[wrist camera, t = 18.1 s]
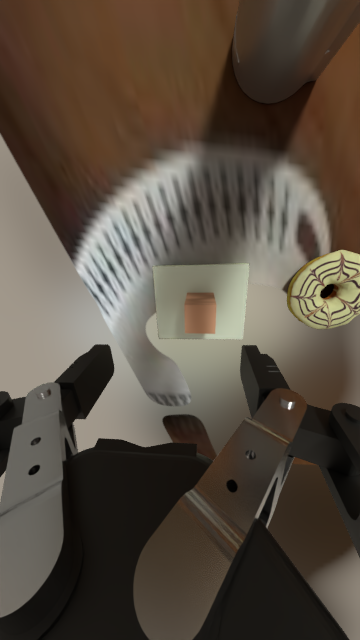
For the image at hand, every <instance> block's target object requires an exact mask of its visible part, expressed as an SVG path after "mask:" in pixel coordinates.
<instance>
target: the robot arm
mask: <svg viewBox="0 0 360 640" xmlns="http://www.w3.org/2000/svg"><path fill="white" fill-rule="evenodd" d="M359 22H360V0H240V1H239V7H238V12H237V16H236V23H235V29H234V37H233V46H232V64H233V69H234V73H235V76H236V79H237V81H238V84H239V86H240V87H241V89H242V90H243V91H244V93H245V94H246V95H248V96H249V97H250V98H251V99H253V100H255V101H257V102H260V103H266V104H269V103H277V102H279V101H282V100H285V99H286V98H288V97H290V96H291V95H293V94H294V93H295V92H296V91H297V90H298V89H300V88H301V87H302V86H303V85H304V84H305V83H306V82H309V81H315V80H317V79H318V77H319V76H320V75H321V73H322V72H323V71H324V69H325V68H326V67H327V65H328V64H329V63H330V61H331V60H332V59H333V57H334V56H335V55H336V53H337V52H338V50H339V49H340V48H341V46H342V45H343V44H344V42H345V41H346V40H347V38H348V37H349V36H350V34H351V33H352V32H353V30H354V29H355V28H356V26H357V25H358V24H359ZM113 373H114V363H113V359H112V354H111V349H110V346H109V345H94V346H93V347H92V349H90V351H89V352H87V353H85V354H83V355H82V356H80V357H79V358H78V359H77V360H76V361H75V362H74V364H72V365H71V366H70V367H69V368H68V369H67V370H66V371H65V372H64V373H63V374H62V375H61V376H60V377H59V378H58V379H57V380H56V381H55V382H53V383H46V384H42V385H40V386H38V387H36V388H34V389H33V390H32V391H30V392H29V393H28V394H27V396H26V397H22V398H17V399H11V397H10V395H9V394H8V392H5V391H1V392H0V477H1V475H2V474H3V473H4V472H5V471H6V474H5V480H4V486H3V491H2V496H1V502H0V640H349V639H348V637H347V635H346V634H345V633H344V631H343V630H342V628H341V627H340V626H339V624H338V623H337V622H336V620H335V619H334V618H333V616H332V615H331V614H330V612H329V611H328V610H327V608H326V607H325V605H324V604H323V603H322V602H321V600H320V599H319V597H318V596H317V595H316V593H315V592H314V591H313V589H312V588H311V587H310V585H309V584H308V583H307V581H306V580H305V579H304V577H303V576H302V575H301V573H300V572H299V571H298V569H297V568H296V567H295V565H294V564H293V563H292V561H291V560H290V559H289V557H288V556H287V555H286V553H285V552H284V551H283V549H282V548H281V546H280V545H279V544H278V543H277V541H276V540H275V539H274V537H273V536H272V534H271V533H270V532H269V531H268V529H267V528H268V525H269V522H270V520H271V518H272V515H273V512H274V509H275V506H276V503H277V500H278V497H279V494H280V491H281V489H282V486H283V484H284V482H285V479H286V477H287V474H288V471H289V469H290V467H291V464H292V462H293V459H294V457H297V458H300V459H303V460H306V461H308V462H311V463H314V464H317V465H319V467H320V469H321V471H322V474H323V476H324V478H325V480H326V483H327V485H328V487H329V490H330V492H331V494H332V496H333V498H334V501H335V503H336V505H337V508H338V510H339V512H340V514H341V517H342V519H343V521H344V523H345V526H346V528H347V530H348V532H349V534H350V537H351V539H352V541H353V544H354V546H355V548H356V550H357V553H358V555H359V557H360V407H358V406H355V405H352V404H347V403H338V404H335V405H334V406H333V407H332V410H331V411H329V410H325V409H321V408H317V407H314V406H311V405H308V404H307V403H306V401H305V400H304V398H303V397H302V396H301V395H299V394H298V393H296V392H294V391H292V390H290V388H289V386H288V384H287V383H286V381H285V379H284V377H283V375H282V374H281V372H280V370H279V369H278V367H277V365H276V363H275V362H274V360H273V359H272V358H271V357H269V356H268V355H267V354H260V352H259V350H258V348H257V346H256V345H243V346H242V353H241V366H240V373H241V380H242V384H243V388H244V391H245V395H246V399H247V402H248V406H249V410H250V414H251V417H252V419H250V418H245V419H244V420H243V422H242V423H241V424H240V426H239V427H238V428H237V430H236V431H235V433H234V434H233V435H232V437H231V438H230V439H229V441H228V442H227V444H226V445H225V446H224V447H223V449H222V450H221V452H220V453H219V454H218V456H217V457H216V458H215V460H214V461H212V460H211V459H209V458H208V457H206V456H203V455H201V454H199V453H197V444H187V443H167V444H162V445H156V446H151V447H141V446H138V445H135V444H133V443H130V442H127V441H124V440H119V439H101V438H99V439H98V441H97V443H96V445H95V447H93V448H90V449H86V450H84V451H81V452H79V453H78V449H77V442H76V435H75V429H74V425H73V422H74V420H75V419H86V417H87V416H88V414H89V412H90V411H91V409H92V407H93V406H94V404H95V403H96V401H97V400H98V398H99V396H100V395H101V393H102V392H103V390H104V388H105V387H106V385H107V384H108V382H109V381H110V379H111V377H112V376H113Z"/></svg>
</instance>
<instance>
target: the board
mask: <svg viewBox="0 0 360 640" xmlns="http://www.w3.org/2000/svg"><path fill="white" fill-rule="evenodd" d="M249 265H250V264H249V263H238V264H201V265H164V266H153V267H152V268H153V279H154V291H155V302H156V314H157V325H158V337H159V339H243V331H244V320H245V308H246V298H247V287H248V276H249ZM187 293H214V297H215V301H216V327H215V334H196V333H185V314H184V304H185V300H186V295H187Z"/></svg>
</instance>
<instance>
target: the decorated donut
mask: <svg viewBox="0 0 360 640" xmlns="http://www.w3.org/2000/svg"><path fill="white" fill-rule="evenodd" d="M329 284H334V289H333V291H332V293H331V294H330V295H329V296H328V297H326V298H321V297H320V292H321V290H322V289H324V288H325V287H326V286H327V285H329ZM287 305H288V308H289V310H290V311H291V313H292V314H293V315H294V316H295V317H296V318H298V320H299V321H301V322H303V323H304V324H306V325H307V326H309V327H312V328H315V329H329V328H334V327H337V326H340V325H344V324H347V323H349V322H350V321H351V320H352V319H353V318H354V317H355V316H357V315H359V314H360V255H359V254H355V253H352V252H349V251H345V250H339V251H336V252H333V253H329V254H326V255H323V256H320V257H318V258H316V259H314V260H312V261H310V262H309V263H307V264H306V265H304V266H303V267H302V268H301V269H300V270H299V271H298V272H297V273H296V274H295V276H294V277H293V279H292V281H291V282H290V285H289V288H288V294H287Z"/></svg>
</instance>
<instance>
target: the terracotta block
mask: <svg viewBox="0 0 360 640" xmlns="http://www.w3.org/2000/svg"><path fill="white" fill-rule="evenodd" d="M184 314H185V333H196V334H215V327H216V301H215V297H214V293H187V295H186V300H185V304H184Z"/></svg>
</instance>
